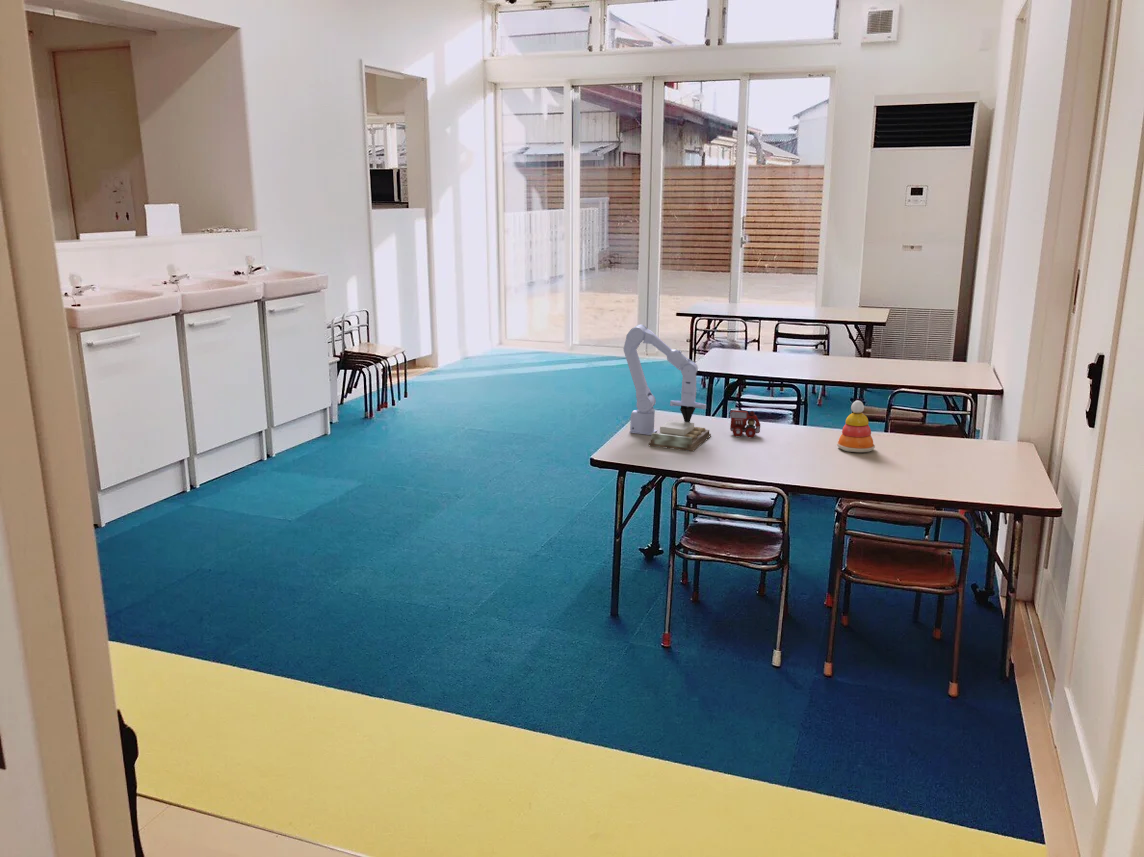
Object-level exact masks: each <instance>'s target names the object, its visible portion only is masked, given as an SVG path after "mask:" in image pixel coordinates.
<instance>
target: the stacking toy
mask: <svg viewBox="0 0 1144 857" xmlns="http://www.w3.org/2000/svg"><path fill="white" fill-rule="evenodd" d="M850 409H851V412H852V413H850V414H849V415H848V416H847V417H846V419H845V421H844V422H845V424H844V426H843V427H842V431H841V434H840V435H839V438H838V441H836V445H837V447H838V448H839V449H841V450H843V451H844V452H845V451H846V452H848V453H849V452H850V453H851V452H852V453H869V452H873V450H874V449H875V448H876V444H874V439H873V437H872V430H871V426H869V419H868V416H867V415H865V414H864V413H863V412H864V410H865V406H864V403H863V402H862V401H861V400H857V399H856V400H855V401H853V403H852V404H851V406H850Z"/></svg>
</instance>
